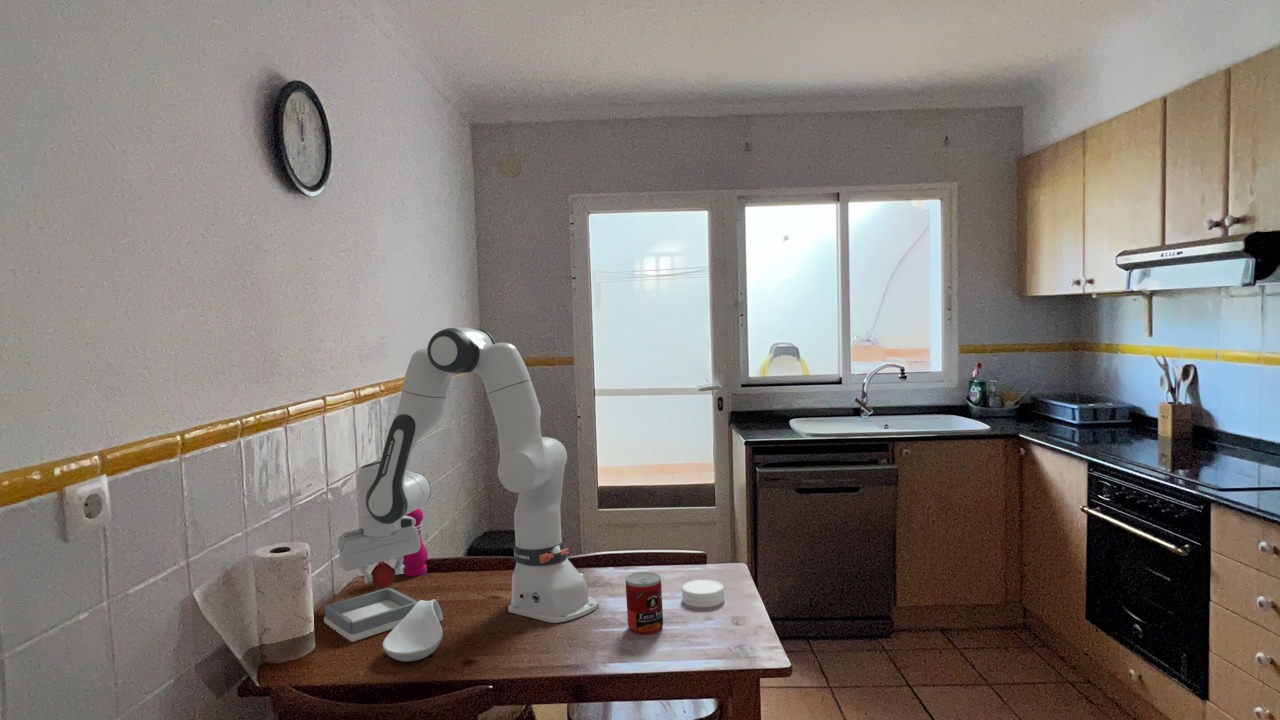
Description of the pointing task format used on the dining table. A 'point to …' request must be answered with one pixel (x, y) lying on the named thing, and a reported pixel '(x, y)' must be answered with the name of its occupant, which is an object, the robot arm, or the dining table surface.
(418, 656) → the spoon rest
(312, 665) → the dining table surface
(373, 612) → the stand
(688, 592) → the white short cylinder
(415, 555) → the pepper mill
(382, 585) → the onion
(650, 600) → the canned food
